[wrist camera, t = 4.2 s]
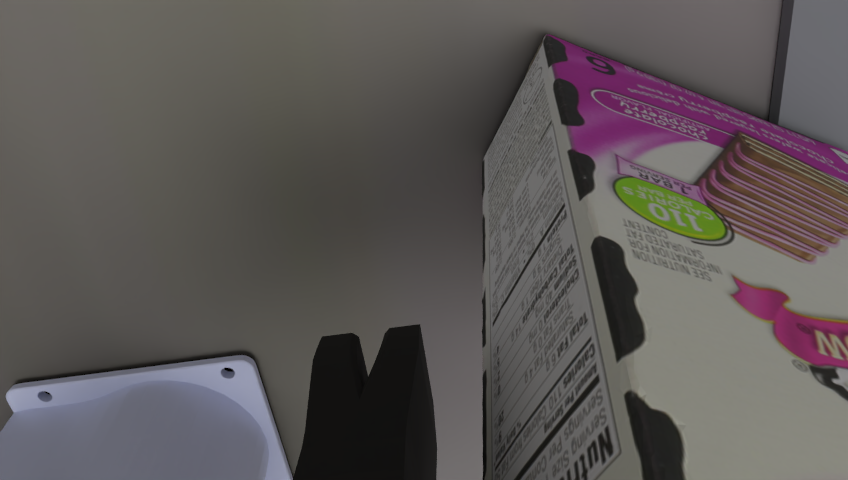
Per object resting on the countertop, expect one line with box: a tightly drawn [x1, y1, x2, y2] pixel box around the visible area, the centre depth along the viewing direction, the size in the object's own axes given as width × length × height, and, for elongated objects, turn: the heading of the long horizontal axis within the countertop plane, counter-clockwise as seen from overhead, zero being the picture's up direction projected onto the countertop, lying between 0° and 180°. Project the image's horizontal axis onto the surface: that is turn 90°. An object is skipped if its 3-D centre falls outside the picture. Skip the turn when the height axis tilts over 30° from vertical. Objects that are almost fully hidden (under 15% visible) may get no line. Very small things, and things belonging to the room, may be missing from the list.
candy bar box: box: [482, 34, 848, 480], centre depth 15 cm, size 11×5×16 cm, turn 70°
